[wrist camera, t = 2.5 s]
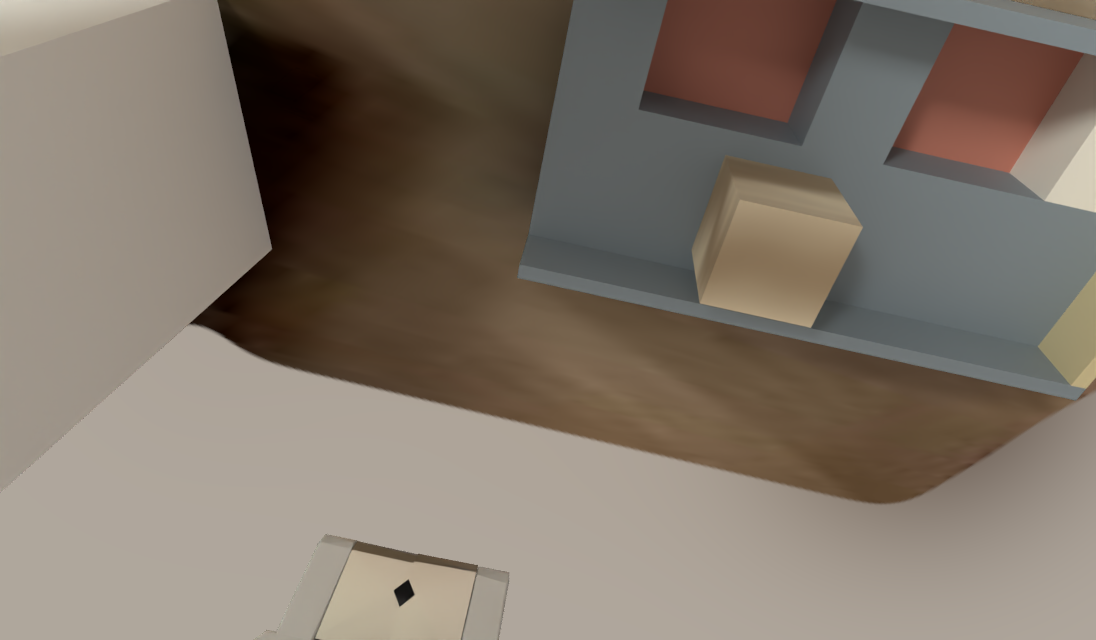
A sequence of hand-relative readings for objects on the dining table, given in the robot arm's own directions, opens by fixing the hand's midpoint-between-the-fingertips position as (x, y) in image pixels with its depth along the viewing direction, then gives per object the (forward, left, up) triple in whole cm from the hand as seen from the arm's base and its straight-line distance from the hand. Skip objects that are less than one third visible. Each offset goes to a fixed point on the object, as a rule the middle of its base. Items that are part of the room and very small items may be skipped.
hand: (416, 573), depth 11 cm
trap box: (-3, +11, -21) cm, 23 cm away
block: (0, +8, -18) cm, 20 cm away
